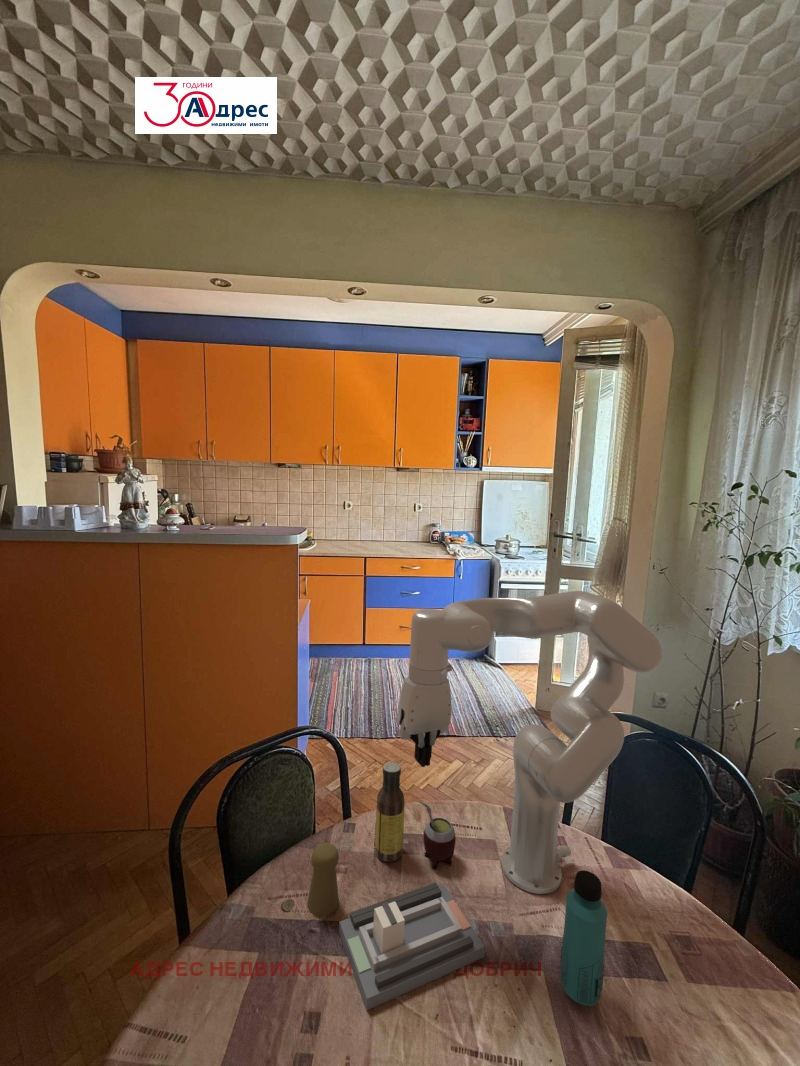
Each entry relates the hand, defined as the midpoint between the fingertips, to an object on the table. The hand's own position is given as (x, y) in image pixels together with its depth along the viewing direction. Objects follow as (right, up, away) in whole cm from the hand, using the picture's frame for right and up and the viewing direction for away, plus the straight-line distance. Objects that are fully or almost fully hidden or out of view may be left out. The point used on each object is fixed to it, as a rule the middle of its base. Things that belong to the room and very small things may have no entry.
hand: (422, 762), depth 91 cm
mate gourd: (+4, -27, +10) cm, 29 cm away
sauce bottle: (-7, -26, +11) cm, 30 cm away
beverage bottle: (+25, -30, -16) cm, 42 cm away
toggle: (-7, -25, -12) cm, 29 cm away
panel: (-3, -28, -10) cm, 29 cm away
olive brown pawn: (-20, -26, -2) cm, 33 cm away
